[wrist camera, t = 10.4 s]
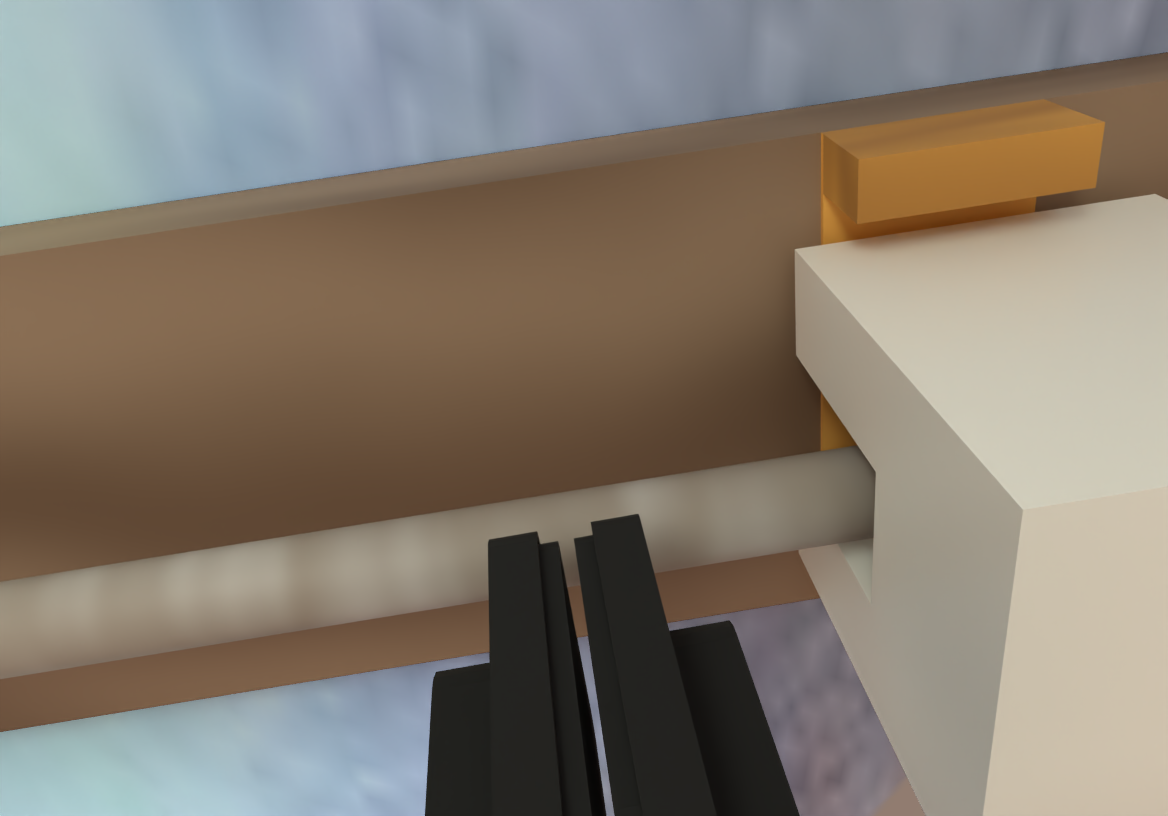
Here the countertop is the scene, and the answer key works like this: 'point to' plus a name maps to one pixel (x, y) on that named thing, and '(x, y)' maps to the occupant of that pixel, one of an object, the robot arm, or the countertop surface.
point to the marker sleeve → (1006, 501)
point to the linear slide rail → (469, 381)
